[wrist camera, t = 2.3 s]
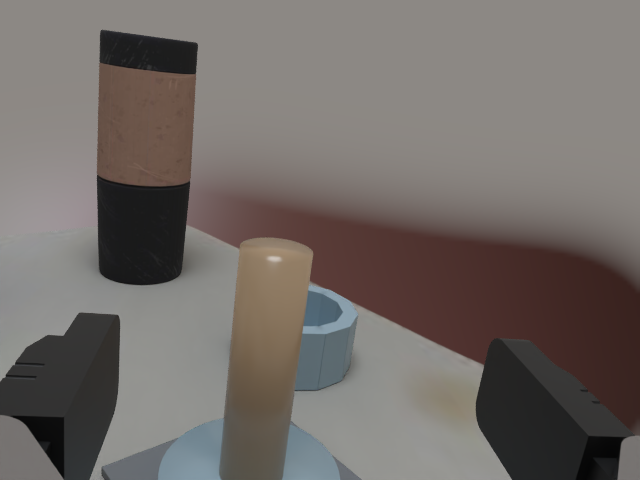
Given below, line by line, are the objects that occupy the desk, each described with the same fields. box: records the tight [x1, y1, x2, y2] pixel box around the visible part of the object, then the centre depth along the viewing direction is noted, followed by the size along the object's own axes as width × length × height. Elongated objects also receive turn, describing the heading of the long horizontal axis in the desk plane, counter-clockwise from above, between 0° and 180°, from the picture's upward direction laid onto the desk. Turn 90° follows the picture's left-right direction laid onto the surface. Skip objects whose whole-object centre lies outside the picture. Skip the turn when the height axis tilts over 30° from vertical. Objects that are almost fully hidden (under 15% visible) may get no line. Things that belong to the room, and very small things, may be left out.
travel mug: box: [97, 30, 198, 284], centre depth 48 cm, size 8×8×20 cm
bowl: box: [295, 285, 358, 390], centre depth 39 cm, size 8×8×4 cm
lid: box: [158, 238, 340, 480], centre depth 25 cm, size 8×8×12 cm
